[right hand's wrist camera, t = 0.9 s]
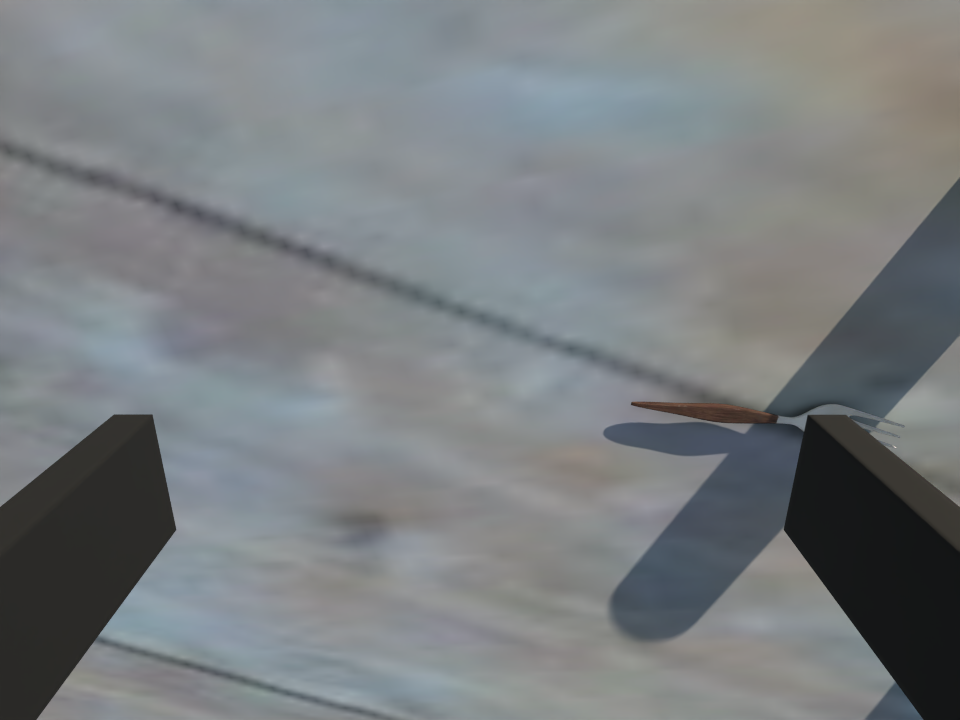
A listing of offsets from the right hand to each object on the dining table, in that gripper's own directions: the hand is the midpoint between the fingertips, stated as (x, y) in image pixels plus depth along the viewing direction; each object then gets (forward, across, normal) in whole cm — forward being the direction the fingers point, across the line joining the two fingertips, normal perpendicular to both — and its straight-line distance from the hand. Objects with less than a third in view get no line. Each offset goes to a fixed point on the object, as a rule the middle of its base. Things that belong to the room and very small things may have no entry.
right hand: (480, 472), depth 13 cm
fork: (+24, -17, +10) cm, 31 cm away
